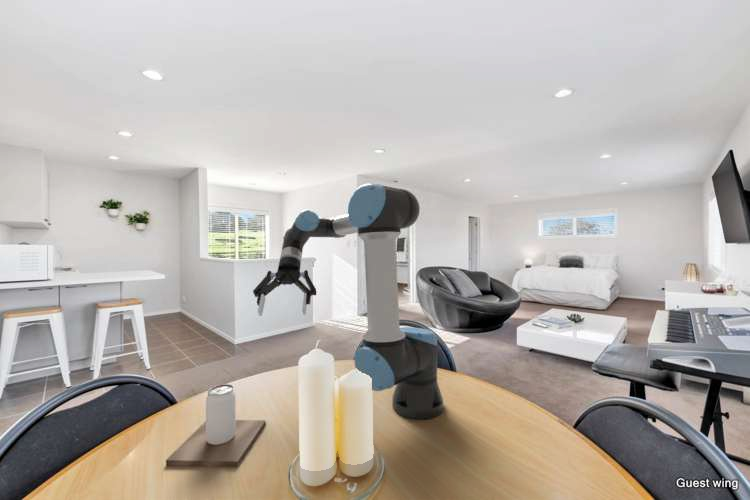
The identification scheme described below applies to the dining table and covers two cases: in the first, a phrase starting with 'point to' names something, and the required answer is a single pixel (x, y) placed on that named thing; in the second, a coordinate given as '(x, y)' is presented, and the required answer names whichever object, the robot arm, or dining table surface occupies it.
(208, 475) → the dining table surface
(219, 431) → the can
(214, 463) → the walnut board
